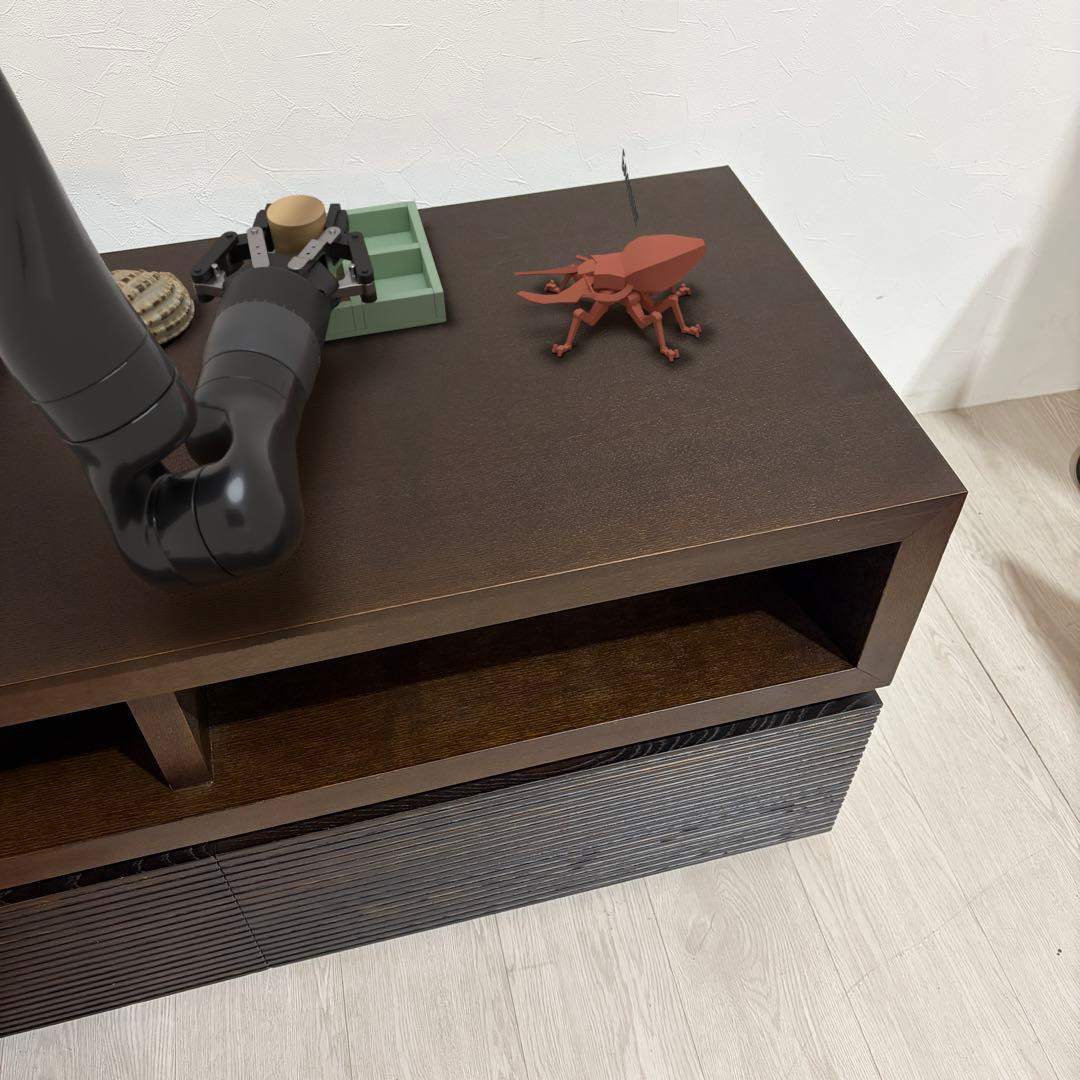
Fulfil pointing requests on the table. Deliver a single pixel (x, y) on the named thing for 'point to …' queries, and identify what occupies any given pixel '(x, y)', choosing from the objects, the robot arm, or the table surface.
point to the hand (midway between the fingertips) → (305, 214)
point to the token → (295, 222)
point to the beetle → (627, 281)
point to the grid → (391, 274)
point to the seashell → (157, 301)
